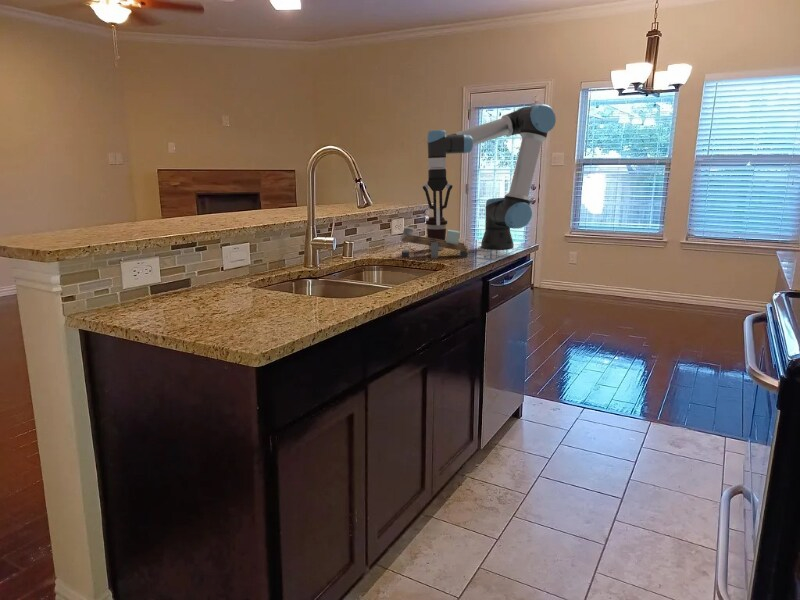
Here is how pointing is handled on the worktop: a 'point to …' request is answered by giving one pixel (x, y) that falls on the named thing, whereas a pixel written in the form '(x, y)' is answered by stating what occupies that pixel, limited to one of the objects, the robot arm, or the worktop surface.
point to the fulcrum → (433, 251)
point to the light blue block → (452, 237)
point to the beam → (429, 240)
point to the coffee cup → (436, 229)
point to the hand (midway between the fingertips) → (438, 224)
